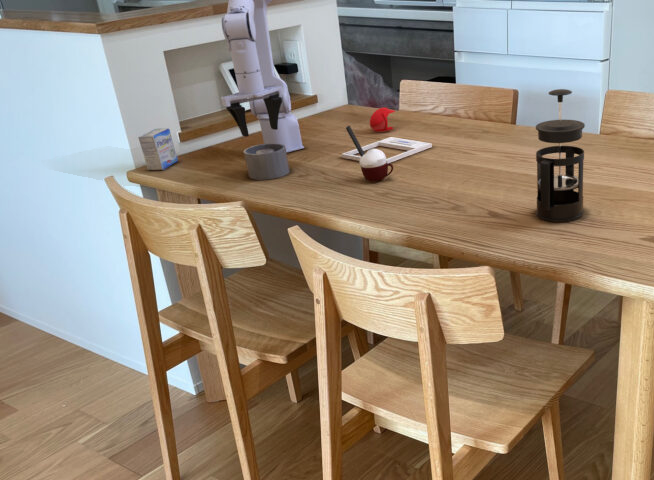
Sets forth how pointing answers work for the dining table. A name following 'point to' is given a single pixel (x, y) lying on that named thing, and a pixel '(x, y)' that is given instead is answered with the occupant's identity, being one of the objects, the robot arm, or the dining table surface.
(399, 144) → the photo frame
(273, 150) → the coffee pod
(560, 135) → the french press
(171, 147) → the medicine box
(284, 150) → the bucket
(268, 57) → the robot arm
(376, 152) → the cocoa
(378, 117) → the cap
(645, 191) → the dining table surface
